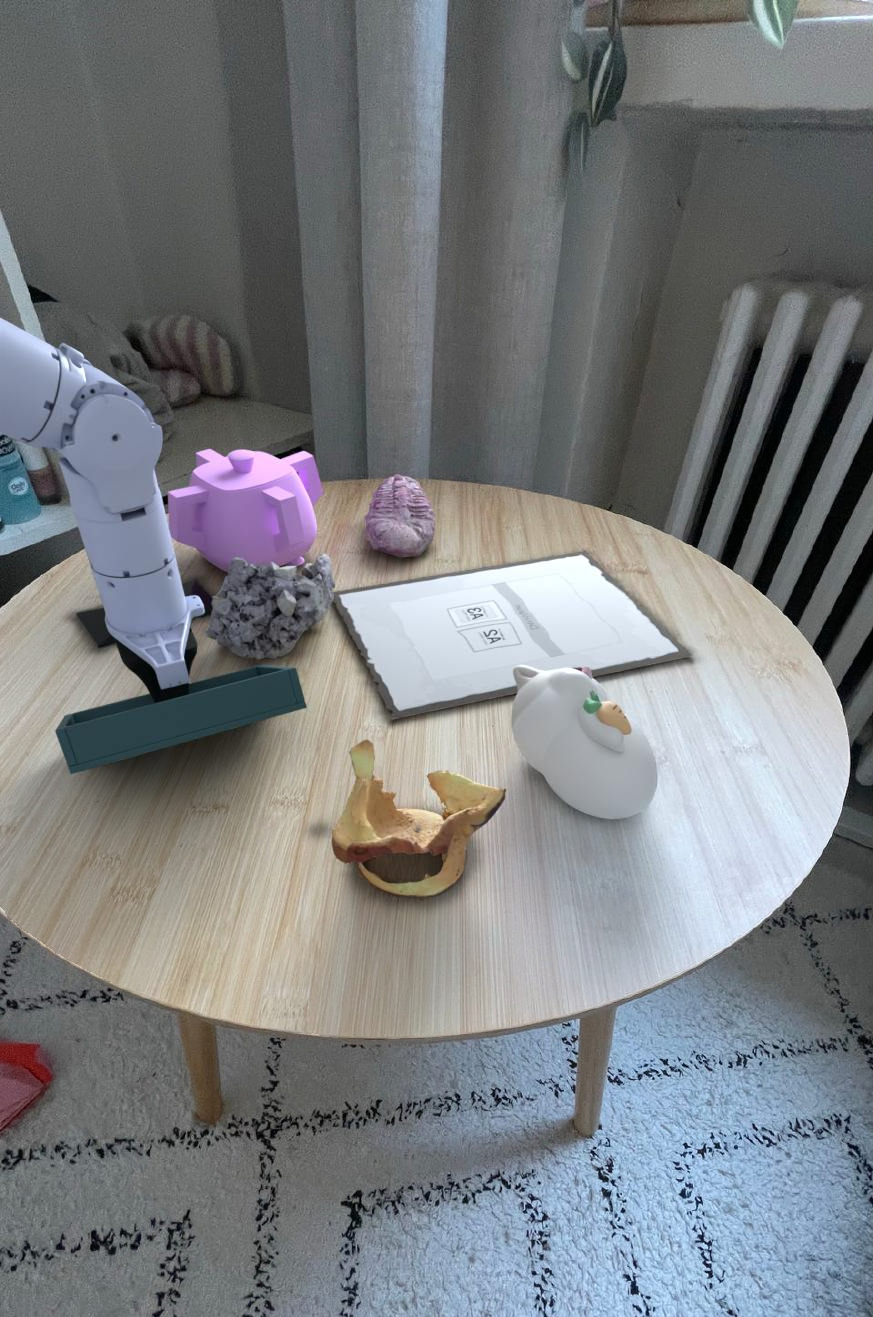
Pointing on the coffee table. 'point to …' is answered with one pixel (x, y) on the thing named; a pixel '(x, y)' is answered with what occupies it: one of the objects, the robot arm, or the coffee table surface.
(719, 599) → the coffee table surface
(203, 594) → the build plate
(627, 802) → the cat figurine
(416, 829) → the bone
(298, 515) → the pot
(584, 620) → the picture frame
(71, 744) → the tray
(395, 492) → the fossil
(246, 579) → the mineral specimen
